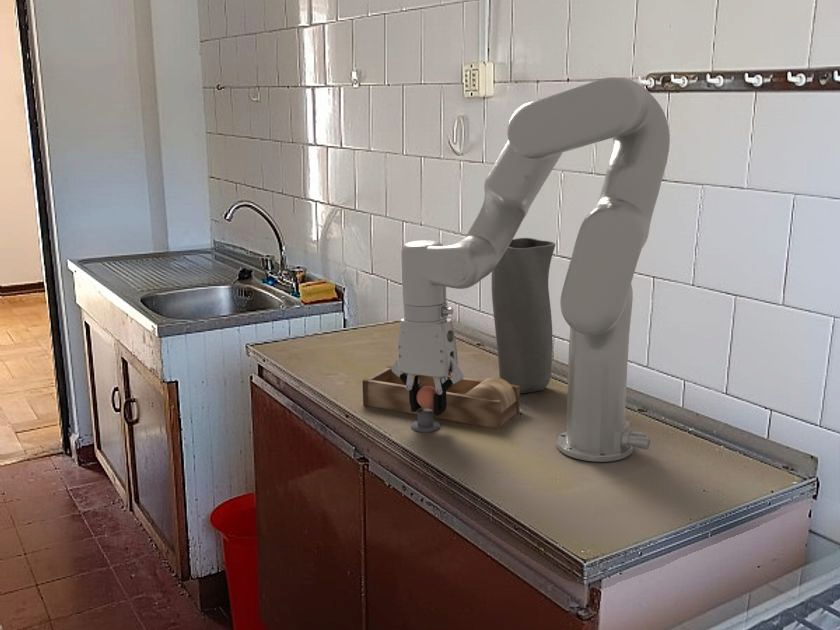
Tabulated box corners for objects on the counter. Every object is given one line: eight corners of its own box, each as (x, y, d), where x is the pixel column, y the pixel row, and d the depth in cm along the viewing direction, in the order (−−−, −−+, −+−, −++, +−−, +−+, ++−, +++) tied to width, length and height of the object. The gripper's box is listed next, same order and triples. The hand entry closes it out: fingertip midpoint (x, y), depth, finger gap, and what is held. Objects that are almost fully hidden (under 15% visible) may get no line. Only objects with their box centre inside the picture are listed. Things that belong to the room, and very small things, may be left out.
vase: (506, 402, 167) (508, 249, 160) (482, 383, 179) (482, 240, 171) (563, 395, 171) (567, 245, 164) (535, 376, 182) (538, 236, 175)
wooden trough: (519, 418, 163) (519, 378, 161) (498, 437, 155) (499, 394, 153) (389, 397, 176) (388, 359, 174) (363, 412, 167) (362, 373, 165)
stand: (444, 424, 156) (444, 408, 156) (431, 434, 152) (431, 418, 151) (419, 420, 159) (419, 404, 158) (405, 429, 154) (405, 413, 154)
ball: (443, 405, 155) (442, 384, 154) (432, 412, 152) (432, 391, 151) (423, 402, 157) (422, 381, 156) (412, 409, 154) (412, 388, 153)
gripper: (477, 311, 149) (479, 410, 154) (393, 303, 157) (397, 399, 162) (459, 321, 143) (461, 424, 147) (372, 312, 151) (377, 411, 155)
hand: (428, 410), depth 154 cm, fingers closed on ball, 4 cm apart
